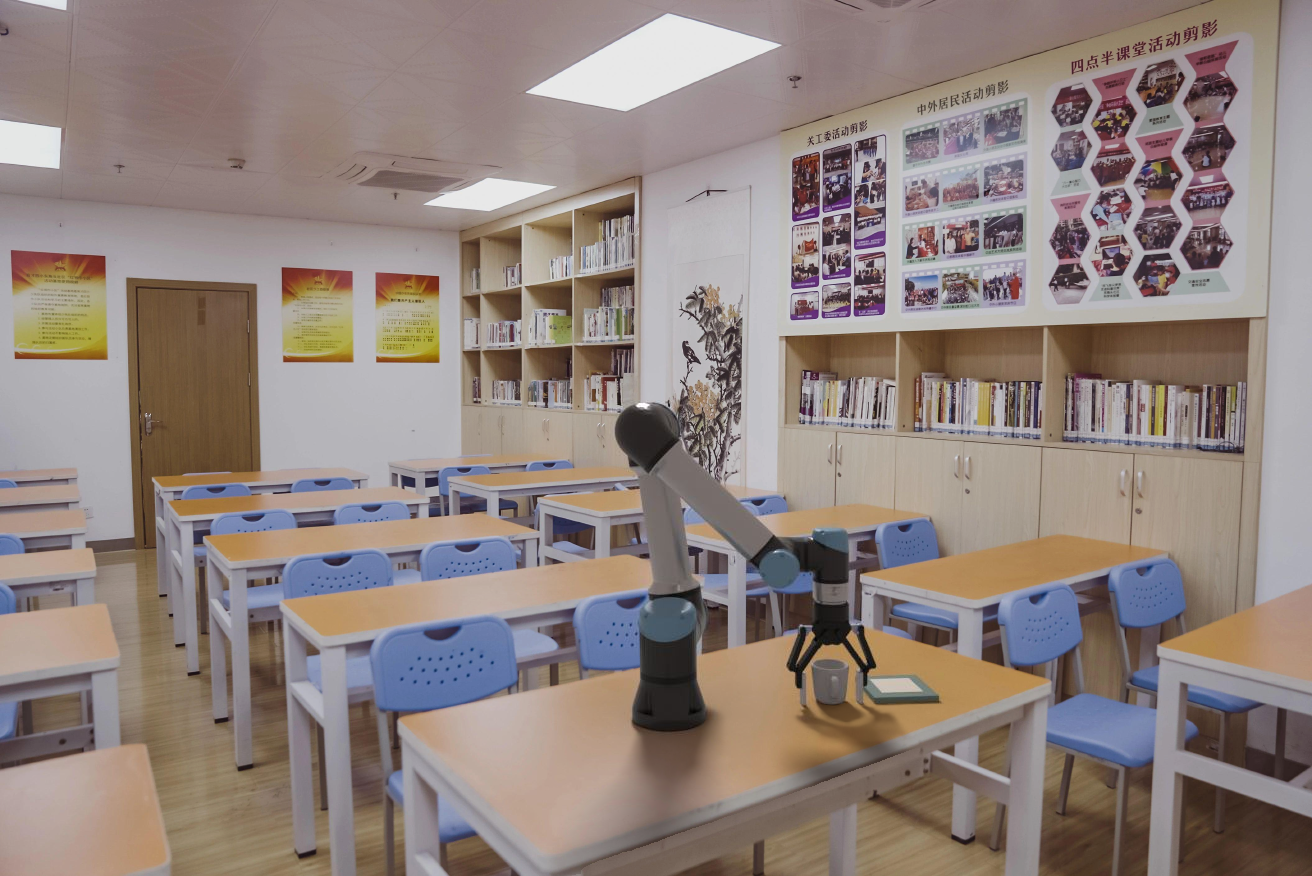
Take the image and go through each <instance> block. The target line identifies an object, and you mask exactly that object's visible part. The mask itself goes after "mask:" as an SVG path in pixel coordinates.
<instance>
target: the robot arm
mask: <svg viewBox="0 0 1312 876" xmlns="http://www.w3.org/2000/svg"><path fill="white" fill-rule="evenodd" d="M681 431H682V428H681V423H680V421H679V418H678V416H677V414H676V413H675V412H674V411H673V410H672V409H671V408H669V407H668V406H666V405H664V404H663V403H659V402H655V401H653V402H639V403H633V404H631V405H629V406H628V407H626V408H625V409H624V410H622V411H621V412H620V414H619V415H618V417H617V419H616V422H615V424H614V438H615V440H616V443H617V446H618V447H619V449H620V451H622V452H623V454H625V455H626V456H627V461H628V467H629V469H630V470H631V471H633V472H634V473H635V474H636V475H637V480H638V488H639V493H640V494H639V495H640V500H641V507H642V515H643V521H644V527H645V534H646V541H647V546H648V553H649V554H648V555H649V561H650V568H651V575H652V584H651V585H650V586H649V588H648V589H647V594H648V595H647V596H648V601H647V602H645V603H644V604H643V605H642V606H641V608H640V610H639V616H638V617H639V618H638V620H637V621H638V629H639V630H638V631H639V632H638V633H639V637H638V638H639V683H638V685H637V689H636V692H635V696H634V700H633V702H632V707H631V719H632V720H633V722H634V723H635V724H636V725H638V726H640V727H643V728H645V729H650V730H655V731H656V730H657V731H666V732H667V731H668V732H671V731H672V732H673V731H680V730H681V731H682V730H688V729H691V728H692V729H693V728H695V727H697V726H700V725H701V724H703V723H704V722H705V720H706V718H707V707H706V704H705V703H706V702H705V700H704V697H703V694H702V691H701V688H700V685H699V682H698V673H697V672H698V670H697V667H698V664H697V663H698V656H697V648H698V643H699V641H700V639H701V638H702V636H703V634H704V633H705V631H706V629H707V626H708V622H709V611H708V607H707V604H706V602H705V600H704V598H703V596H702V595H703V594H702V588H701V583H700V581H699V580H697V579H696V578H694V576H693V574H692V568H691V561H690V555H689V554H690V553H689V548H688V542H687V541H688V540H687V533H686V528H685V520H684V513H683V508H682V501H684V502H685V504H687V505H688V506H689V507H690V508H691V509H692V510H693V511H694V512H695V513H697V514H698V515H699V516H700V517H701V518H702V519H703V520H704V521H705V522H706V523H707V524H708V525H709V526H710V527H711V528H713V530H714V531H716V532H717V533H718V534H719V535H720V536H721V537H722V538H723V539H724V540H725V541H726V542H727V543H728V544H730V545H731V547H733V549H735V550H736V551H737V552H738V553H739V555H741V556H742V557H743V558H744V559H745V560H746V561H748V563H749V564H750V565H751V566H753V568H754V569H755V570H757V572H759V575H760V577H761V579H762V581H763V583H765V585H768V586H769V587H770V588H773V589H779V590H781V589H786V588H789V587H790V586H792V584H794V582H795V581H796V580H797V578H798V576H799V574H800V573H804V574H805V573H806V574H808V573H811V574H812V598H813V602H812V623H811V624H810V625H803V624H802V623H799V624H798V625H797V636H796V638H795V641H794V642H793V646H792V648H791V650H790V654H789V657H788V659H787V661H786V668H787V670H788V671H789V672H792V673H794V685H795V687H796V689H798V690H799V701H800V703H801V705H802V706H807V674H806V673H805V670H806V669H807V667H808V666H809V664H810V663H811V661H812V659H813V658H814V656H815V655H816V653H817V652H818V651H819V649H821V647H822V646H823V645H824V646H825V647H826V646H832V645H833V646H840V645H841V644H842V645H843V646H844V648H845V650H846V651H847V652H848V654H849V655H850V656H851V658H852V659H853V661H854V662H855V664H857V666H858V668H855V676H856V682H855V700H856V701H857V703H859V704H864V691H863V686H867V684H868V680H867V679H868V676H869V675H868V674H869V672H870V670H875V669H876V668H877V664H876V660H875V658H874V656H873V653H872V651H871V649H870V645H869V643H868V641H867V638H866V635H865V632H866V631H865V626H864V625H863V624H862V623H861V622H859V621H858V622H856V623H850V603H849V602H848V600H849V599H850V592H849V591H850V588H849V587H850V584H849V582H850V581H849V580H850V579H849V577H850V574H849V573H850V571H849V570H850V555H849V554H850V546H849V543H850V542H849V533H848V532H847V530H846V529H844V528H842V527H836V526H823V527H822V526H818V527H815V528H813V529H812V534H811V536H808V537H806V536H805V537H804V536H803V537H800V536H777V535H775V534H774V533H773V532H772V531H771V530H770V529H769V528H768V527H767V526H766V525H765V524H764V523H763V522H761V521H760V519H758V517H757V516H755V515H754V514H753V513H752V512H751V511H750V510H749V509H748V508H747V507H745V505H743V503H742V502H740V501H739V500H738V499H737V498H736V497H735V496H734V495H733V494H732V493H731V492H729V490H727V489H726V488H725V487H724V486H723V485H722V484H721V483H720V481H718V480H717V479H716V478H715V477H714V476H713V475H711V473H709V472H708V471H707V469H706V468H704V467H703V466H702V465H701V464H700V463H699V462H697V460H696V459H694V457H692V456H691V455H690V454H689V453H688V451H686V450H685V449H684V446H683V440H681ZM681 499H682V500H681ZM851 631H852V632H853V634H855V636H856V637H857V641H858V643H859V646H860V649H861V651H862V653H863V655H864V657H865V662H864V660H863V659H862V658H861V657H860V655H859V653H858V652H857V651H856V650H855V648H854V647H853V646H852V644H851V643H850V641H849V639H848V638H847V636H848V635H849V634H850V633H851ZM811 632H812V634H813V635H814V637H813V638H812V639H811V641H810V644H809V646H808V647H807V648H806V650H805V651H804V652H803V654H802V656H801V657H800V655H801V653H802V650H803V647H804V644H805V642H806V639H807V638H806V637H808V636H809V634H810V633H811ZM799 657H800V658H799Z"/></svg>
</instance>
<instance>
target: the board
mask: <svg viewBox="0 0 1312 876" xmlns="http://www.w3.org/2000/svg"><path fill="white" fill-rule="evenodd" d="M867 680H868V684H867V686H863V693H865V694H866V696H867V697H869V699H870V700H871V701H872V702H873V703H874V704H887V703H888V704H889V703H890V704H891V703H895V704H897V703H916V702H917V703H918V702H919V703H920V702H924V703H925V702H926V703H927V702H939V701H940V695H939V694H938V692H936V691H934V689H932V688H931V687H930V686H929V685H928V684H927V683H926V682H925V681H923V680H922V679H921V678H920V677H919V676H918V675H917V674H894V675H893V674H891V675H868V679H867ZM855 683H856V675H855Z"/></svg>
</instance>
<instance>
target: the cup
mask: <svg viewBox="0 0 1312 876" xmlns="http://www.w3.org/2000/svg"><path fill="white" fill-rule="evenodd" d="M810 663H811V665H810V666H811V667H810V668H811V678H812V687H813V694H814V697H815V699H816V700H817V701H818V702H819V703H822V704H825V705H838V704H841V703H843V702H845V700H846V697H847V693H848V692H847V691H848V682H849V681H848V680H849V674H850V673H849V671H850V664H849V663H848V662H846V661H844V660H841V659H835V658H820V659H816V660H813V661H812V662H810Z"/></svg>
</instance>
